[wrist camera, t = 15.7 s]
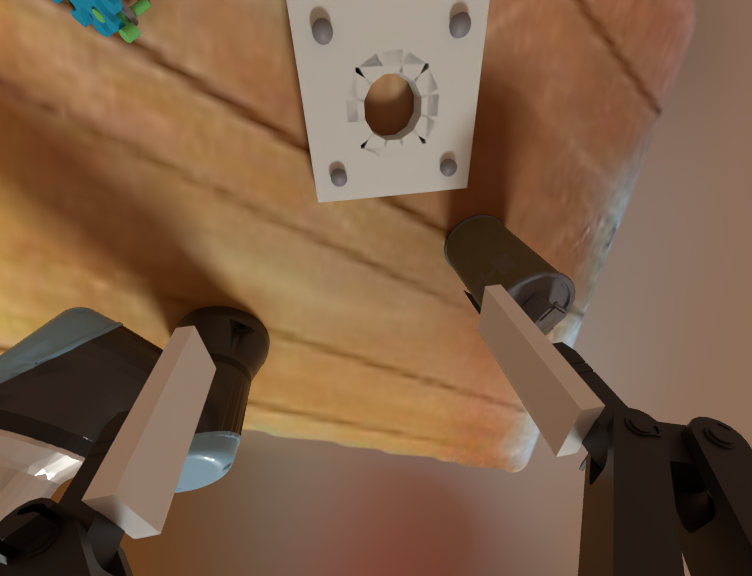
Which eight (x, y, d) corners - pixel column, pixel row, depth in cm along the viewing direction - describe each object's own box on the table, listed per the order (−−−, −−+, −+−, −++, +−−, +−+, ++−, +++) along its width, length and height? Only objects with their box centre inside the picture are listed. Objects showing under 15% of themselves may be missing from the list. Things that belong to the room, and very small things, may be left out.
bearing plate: (318, 193, 43) (318, 204, 40) (287, -2, 32) (284, -10, 28) (457, 180, 45) (469, 189, 42) (476, -8, 34) (494, -17, 30)
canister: (474, 202, 48) (555, 270, 31) (517, 233, 52) (609, 307, 36) (430, 257, 52) (481, 342, 36) (473, 282, 56) (537, 367, 40)
